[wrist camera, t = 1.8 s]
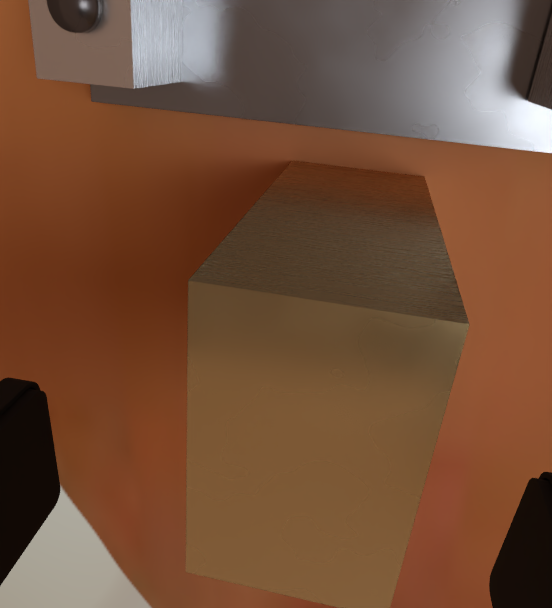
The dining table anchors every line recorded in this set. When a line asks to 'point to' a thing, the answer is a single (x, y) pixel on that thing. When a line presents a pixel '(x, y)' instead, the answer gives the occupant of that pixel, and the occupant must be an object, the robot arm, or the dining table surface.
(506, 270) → the dining table surface
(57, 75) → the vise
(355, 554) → the block
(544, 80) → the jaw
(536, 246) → the dining table surface
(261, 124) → the dining table surface
